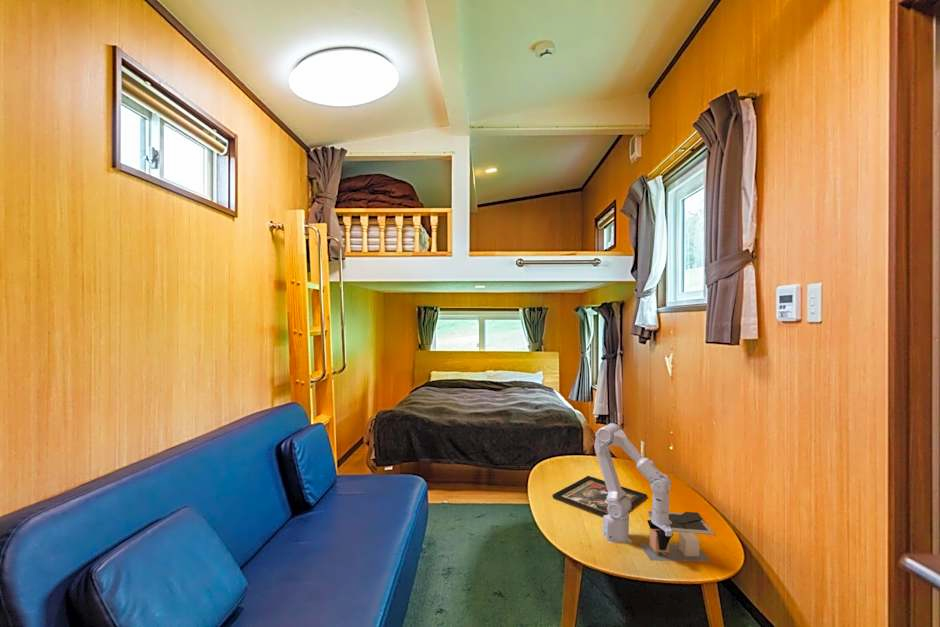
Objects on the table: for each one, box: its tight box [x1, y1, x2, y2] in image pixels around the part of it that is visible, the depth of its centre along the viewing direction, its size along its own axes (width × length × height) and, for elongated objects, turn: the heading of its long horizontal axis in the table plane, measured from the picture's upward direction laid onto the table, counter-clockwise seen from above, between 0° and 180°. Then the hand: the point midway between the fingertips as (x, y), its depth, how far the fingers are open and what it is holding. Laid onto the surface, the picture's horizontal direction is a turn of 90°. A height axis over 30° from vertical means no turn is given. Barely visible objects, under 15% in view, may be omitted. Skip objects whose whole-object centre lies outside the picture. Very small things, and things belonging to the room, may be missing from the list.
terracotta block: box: [649, 528, 670, 552], centre depth 159 cm, size 5×5×6 cm
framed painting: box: [551, 475, 648, 519], centre depth 204 cm, size 38×35×3 cm
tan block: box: [678, 532, 701, 556], centre depth 159 cm, size 5×5×6 cm
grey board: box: [638, 542, 712, 563], centre depth 159 cm, size 22×11×1 cm, turn 91°
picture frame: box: [648, 510, 715, 536], centre depth 181 cm, size 16×3×21 cm
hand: (659, 545), depth 159 cm, fingers closed on terracotta block, 5 cm apart
